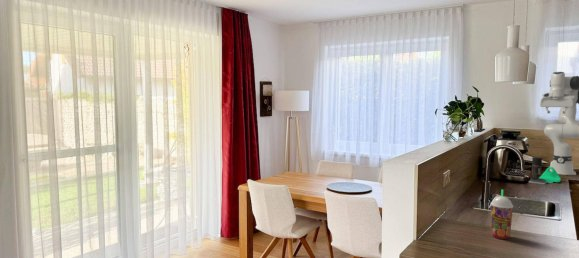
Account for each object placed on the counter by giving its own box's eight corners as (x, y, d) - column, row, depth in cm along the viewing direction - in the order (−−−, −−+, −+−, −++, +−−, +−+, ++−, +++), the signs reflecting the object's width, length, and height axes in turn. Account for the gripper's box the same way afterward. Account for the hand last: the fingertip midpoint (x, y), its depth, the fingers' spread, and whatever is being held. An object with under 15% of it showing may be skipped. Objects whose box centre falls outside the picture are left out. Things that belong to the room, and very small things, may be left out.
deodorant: (537, 178, 283) (538, 158, 282) (529, 177, 289) (530, 157, 288) (542, 178, 286) (543, 158, 284) (535, 176, 291) (535, 157, 290)
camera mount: (538, 181, 275) (539, 167, 274) (540, 179, 280) (541, 165, 280) (558, 183, 267) (559, 169, 266) (560, 182, 272) (561, 167, 272)
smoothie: (490, 238, 159) (492, 191, 157) (488, 232, 167) (489, 186, 165) (513, 241, 156) (515, 192, 154) (510, 234, 164) (511, 188, 162)
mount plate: (532, 180, 277) (532, 177, 277) (547, 182, 270) (547, 179, 270) (528, 182, 270) (528, 179, 270) (544, 184, 264) (544, 181, 264)
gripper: (575, 94, 273) (574, 113, 274) (541, 94, 287) (541, 113, 288) (574, 94, 269) (573, 113, 270) (539, 94, 283) (539, 113, 284)
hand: (556, 113), depth 279 cm, fingers open, 8 cm apart
